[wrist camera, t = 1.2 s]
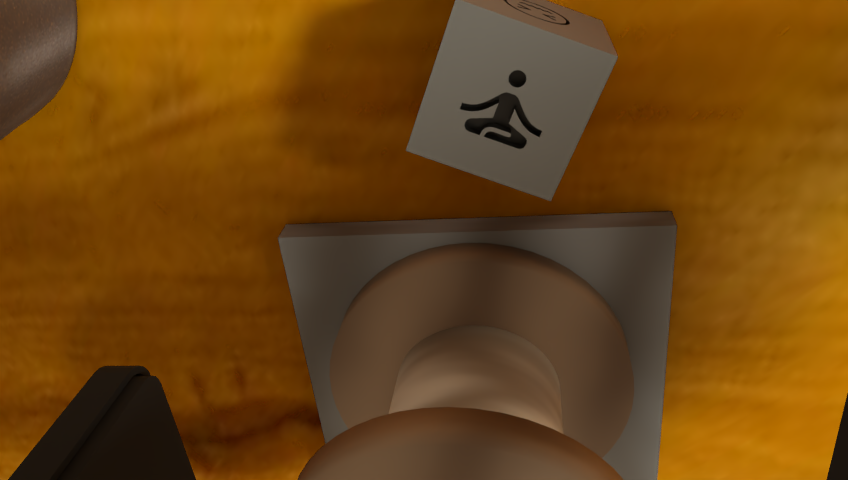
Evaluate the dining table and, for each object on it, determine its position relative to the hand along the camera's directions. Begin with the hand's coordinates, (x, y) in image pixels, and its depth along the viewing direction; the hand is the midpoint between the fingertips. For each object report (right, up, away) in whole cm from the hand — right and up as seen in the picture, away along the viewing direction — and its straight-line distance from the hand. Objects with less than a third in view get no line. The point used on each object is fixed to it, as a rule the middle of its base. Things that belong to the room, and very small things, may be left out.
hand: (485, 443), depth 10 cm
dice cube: (+2, +9, +16) cm, 19 cm away
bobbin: (+2, -2, +23) cm, 23 cm away
